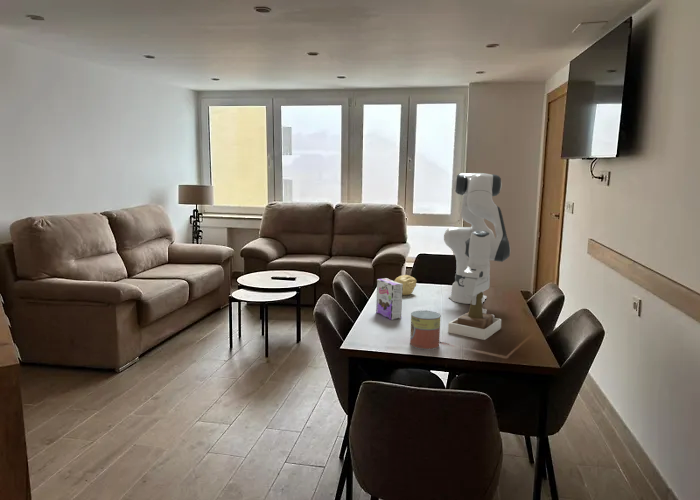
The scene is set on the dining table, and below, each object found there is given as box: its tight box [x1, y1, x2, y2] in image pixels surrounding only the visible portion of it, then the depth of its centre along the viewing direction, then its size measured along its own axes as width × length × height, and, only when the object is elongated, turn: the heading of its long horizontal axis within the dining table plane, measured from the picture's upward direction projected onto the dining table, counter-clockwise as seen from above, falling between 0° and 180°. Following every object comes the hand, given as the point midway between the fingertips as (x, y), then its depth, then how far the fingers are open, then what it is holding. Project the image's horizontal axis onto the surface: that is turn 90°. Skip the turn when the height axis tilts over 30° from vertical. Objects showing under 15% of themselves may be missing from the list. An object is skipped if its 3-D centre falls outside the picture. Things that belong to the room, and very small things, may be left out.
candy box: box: [375, 277, 403, 321], centre depth 232 cm, size 14×6×16 cm, turn 27°
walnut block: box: [457, 311, 494, 329], centre depth 210 cm, size 14×10×6 cm
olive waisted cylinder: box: [468, 292, 484, 318], centre depth 208 cm, size 6×6×11 cm
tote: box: [447, 312, 502, 341], centre depth 210 cm, size 20×16×5 cm
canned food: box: [409, 310, 442, 351], centre depth 193 cm, size 11×11×12 cm
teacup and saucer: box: [482, 308, 495, 318], centre depth 234 cm, size 9×8×4 cm
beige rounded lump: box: [394, 274, 417, 296], centre depth 276 cm, size 12×12×11 cm
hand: (476, 303), depth 208 cm, fingers open, 4 cm apart
